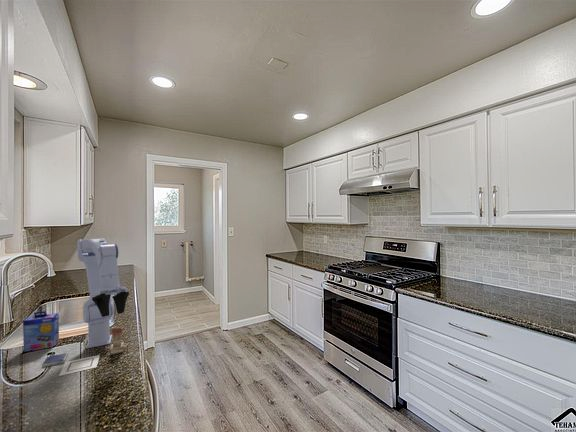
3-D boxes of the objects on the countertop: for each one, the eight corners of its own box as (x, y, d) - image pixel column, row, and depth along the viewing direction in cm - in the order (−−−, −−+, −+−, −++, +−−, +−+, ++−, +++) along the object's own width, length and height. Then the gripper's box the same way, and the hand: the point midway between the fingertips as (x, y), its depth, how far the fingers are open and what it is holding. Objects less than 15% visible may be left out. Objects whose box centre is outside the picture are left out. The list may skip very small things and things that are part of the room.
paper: (65, 362, 98) (65, 361, 98) (100, 355, 103) (99, 354, 103) (58, 376, 89) (58, 375, 89) (96, 367, 94) (96, 367, 94)
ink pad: (47, 359, 100) (47, 356, 100) (67, 355, 103) (67, 352, 103) (41, 367, 95) (41, 364, 95) (64, 362, 98) (64, 359, 98)
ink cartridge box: (22, 352, 107) (21, 314, 107) (29, 346, 112) (28, 310, 112) (54, 347, 111) (54, 310, 111) (59, 341, 116) (59, 306, 116)
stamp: (111, 350, 106) (111, 326, 106) (123, 348, 108) (123, 324, 108) (110, 355, 103) (110, 329, 103) (123, 352, 105) (122, 327, 105)
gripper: (104, 273, 95) (108, 314, 91) (132, 273, 109) (137, 309, 106) (85, 279, 95) (89, 320, 92) (116, 278, 109) (119, 314, 106)
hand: (113, 314), depth 99 cm, fingers open, 7 cm apart
